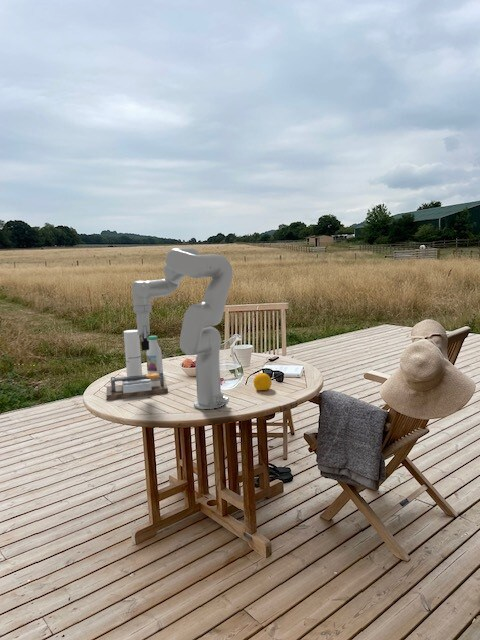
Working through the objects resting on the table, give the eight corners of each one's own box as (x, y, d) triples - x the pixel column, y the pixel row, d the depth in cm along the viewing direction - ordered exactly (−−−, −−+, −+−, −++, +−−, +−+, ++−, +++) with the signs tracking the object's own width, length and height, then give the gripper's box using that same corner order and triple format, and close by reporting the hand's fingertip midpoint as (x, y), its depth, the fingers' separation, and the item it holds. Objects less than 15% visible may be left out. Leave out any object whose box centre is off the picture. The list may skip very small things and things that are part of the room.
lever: (111, 382, 197) (111, 380, 197) (111, 379, 201) (111, 377, 201) (159, 377, 203) (159, 375, 203) (158, 374, 207) (158, 372, 207)
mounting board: (106, 400, 193) (106, 395, 193) (107, 390, 206) (106, 386, 206) (168, 392, 200) (167, 388, 200) (164, 384, 213) (164, 380, 213)
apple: (271, 392, 195) (270, 375, 193) (252, 392, 196) (252, 375, 194) (272, 387, 202) (271, 370, 201) (254, 387, 203) (254, 370, 202)
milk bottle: (157, 371, 236) (155, 334, 233) (166, 374, 231) (163, 335, 228) (144, 375, 231) (142, 336, 228) (152, 377, 225) (150, 338, 222)
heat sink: (111, 394, 193) (110, 381, 193) (111, 386, 206) (110, 373, 206) (164, 388, 199) (164, 375, 199) (161, 380, 212) (160, 368, 212)
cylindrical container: (138, 384, 215) (135, 332, 211) (124, 383, 217) (120, 332, 213) (144, 379, 222) (141, 329, 218) (131, 379, 223) (127, 329, 220)
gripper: (132, 307, 205) (136, 347, 208) (134, 311, 191) (137, 354, 193) (149, 306, 207) (152, 346, 210) (152, 310, 193) (155, 352, 195)
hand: (145, 349), depth 202 cm, fingers closed
